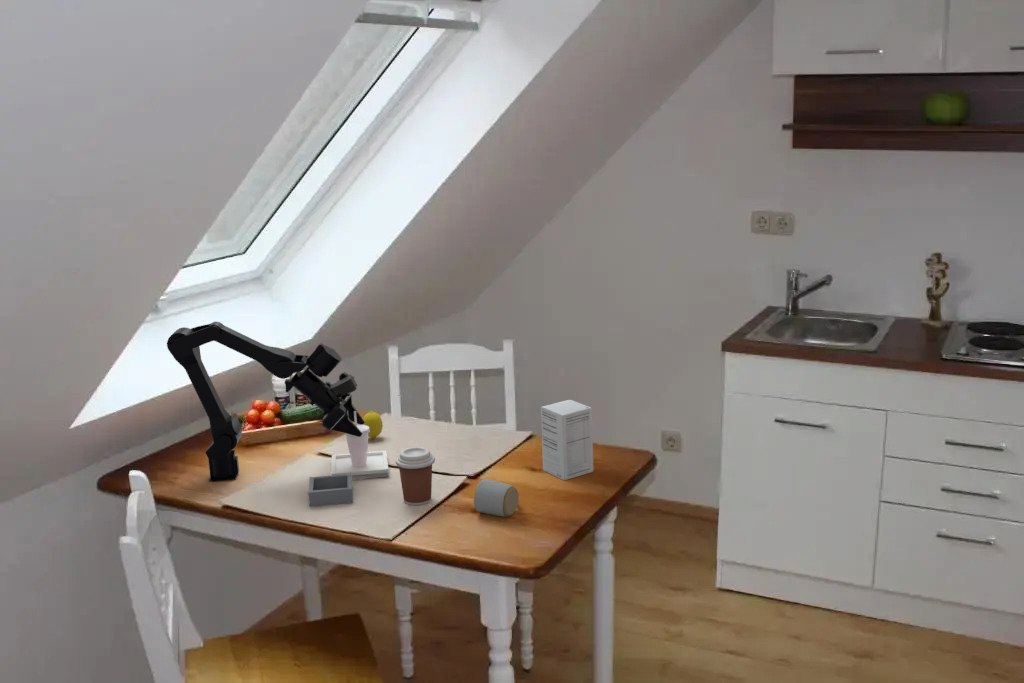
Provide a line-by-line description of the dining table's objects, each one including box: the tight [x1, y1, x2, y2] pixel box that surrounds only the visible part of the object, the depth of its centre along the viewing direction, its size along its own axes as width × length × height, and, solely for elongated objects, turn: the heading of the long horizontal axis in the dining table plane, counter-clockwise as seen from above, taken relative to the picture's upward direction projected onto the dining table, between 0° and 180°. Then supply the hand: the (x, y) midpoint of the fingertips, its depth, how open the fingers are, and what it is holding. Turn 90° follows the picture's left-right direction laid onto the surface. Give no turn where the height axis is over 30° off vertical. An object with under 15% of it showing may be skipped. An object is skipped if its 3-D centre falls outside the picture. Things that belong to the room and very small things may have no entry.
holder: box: [307, 474, 354, 508], centre depth 250 cm, size 10×10×4 cm
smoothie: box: [343, 411, 370, 467], centre depth 266 cm, size 6×6×14 cm
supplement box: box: [540, 399, 594, 481], centre depth 260 cm, size 10×9×17 cm
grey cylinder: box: [473, 478, 520, 518], centre depth 238 cm, size 11×8×8 cm
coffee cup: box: [395, 446, 436, 507], centre depth 246 cm, size 9×9×12 cm
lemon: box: [362, 410, 383, 440], centre depth 290 cm, size 6×6×8 cm
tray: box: [330, 449, 390, 481], centre depth 268 cm, size 14×14×2 cm
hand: (362, 429), depth 266 cm, fingers open, 9 cm apart
